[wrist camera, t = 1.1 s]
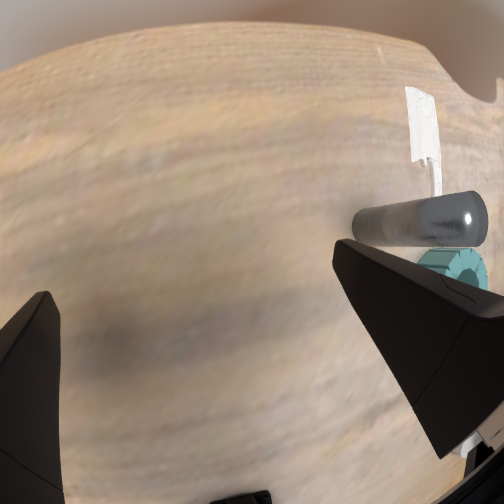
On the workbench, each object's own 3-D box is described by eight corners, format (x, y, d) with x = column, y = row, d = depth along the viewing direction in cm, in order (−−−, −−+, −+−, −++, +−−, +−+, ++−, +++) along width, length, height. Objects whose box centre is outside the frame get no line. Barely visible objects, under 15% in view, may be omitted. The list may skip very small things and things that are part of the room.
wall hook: (527, 407, 25) (521, 444, 27) (482, 389, 35) (483, 426, 36) (493, 452, 24) (489, 484, 25) (448, 427, 33) (451, 460, 34)
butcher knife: (406, 209, 30) (413, 208, 29) (400, 86, 30) (405, 82, 29) (437, 216, 31) (444, 216, 30) (430, 100, 31) (435, 97, 30)
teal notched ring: (459, 316, 32) (486, 322, 27) (410, 338, 30) (439, 348, 25) (457, 244, 31) (486, 243, 27) (407, 254, 29) (438, 255, 25)
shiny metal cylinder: (383, 244, 28) (490, 243, 16) (354, 248, 27) (462, 250, 15) (379, 207, 28) (484, 190, 16) (350, 210, 27) (456, 190, 15)
